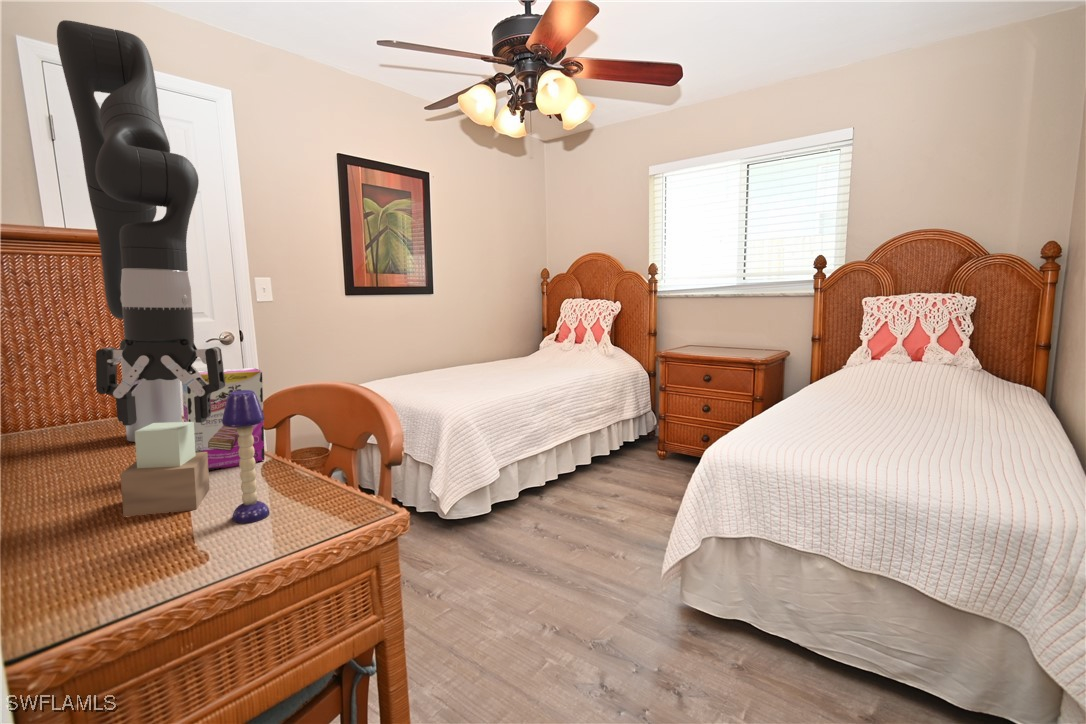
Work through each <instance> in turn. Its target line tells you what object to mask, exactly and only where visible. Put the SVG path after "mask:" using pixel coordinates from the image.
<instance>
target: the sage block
mask: <svg viewBox="0 0 1086 724" xmlns="http://www.w3.org/2000/svg"><path fill="white" fill-rule="evenodd" d="M134 443H135V455H136V456H135V457H136V458H135V459H136V461H137V468H157V467H178V466H182V465H183V464H184V463H186V462H187V461H189V460H190V459H192V458H193V457H195V456H196V455H195V435H194V422H184V421H182V422H169V423H152V424H150V425H148V426H146V427H143V428H141V429H139V430H137V431H135V442H134Z"/></svg>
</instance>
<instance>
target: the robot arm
mask: <svg viewBox="0 0 1086 724" xmlns="http://www.w3.org/2000/svg"><path fill="white" fill-rule="evenodd" d="M56 42H57V48H58V54H59V59H60V63H61V66H62V71H63V74H64V78H65V79H64V80H65V82H66V86H67V90H68V93H69V97H70V103H71V106H72V110H73V114H74V118H75V122H76V125H77V130H78V136H79V142H80V147H81V153H82V154H81V155H82V160H83V161H82V162H83V168H84V174H85V181H86V186H87V192H88V197H89V202H90V207H91V211H92V215H93V219H94V223H95V224H94V225H95V227H96V228H95V229H96V231H97V236H98V237H97V238H98V241H99V248H100V255H101V262H102V263H101V264H102V274H103V281H104V282H103V284H104V292H105V298H106V303H107V307H108V310H109V312H110V313H111V315H112V316H113V317H114V318H115V319H118V320H122V323H123V335H124V339H122V340H121V341H120V344H119V348H115V347H113V346H109V347H104V348H103V347H102V348H99V349H97V350H96V352H95V374H96V375H95V376H96V377H95V381H96V384H95V385H96V387H95V388H96V389H95V391H96V392H97V393H98V394H100V395H104V394H105V395H109V396H112V397H113V398H114V399H115V405H116V406H115V407H116V415H117V416H116V418H117V420H118V421H119V422H121V424H122V426H125V432H126V440H127V441H128V442H134V443H135V431H137V430H139V429H141V428H143V427H146V426H148V425H150V424H152V423H169V422H183V415H182V412H183V409H182V398H181V397H182V396H181V384H182V383H183V384H185V385H187V386H188V387H189V388H190V389H191V390H192V391H193V392H194V393H195V394H196V395H197V396H195V397H194V405H195V421H196V423H203V422H204V421H206V420H207V418H208V417H209V416H210V415H211V398H210V395H211V393H212V392H215V391H218V390H220V389H222V388H224V387H225V377H224V370H225V369H224V363H223V354H222V348H220V347H219V346H213V347H209V348H197V347H196V344H195V341H194V340H195V335H194V333H195V332H194V318H193V317H194V316H193V301H192V299H193V298H192V288H191V287H192V286H191V282H190V279H189V278H190V277H189V272H188V270H189V269H188V255H187V254H188V253H187V239H188V238H187V236H188V228H189V224H190V219H191V215H192V212H193V207H194V205H195V201H196V197H197V194H198V189H199V185H200V184H199V176H198V172H197V170H196V168H195V166H194V165H193V163H192V162H191V161H190V160H189V159H188V158H187V157H185V156H184V155H181V154H179V153H173V152H171V147H170V142H169V138H168V136H167V133H166V131H165V128H164V125H163V123H162V119H161V115H160V109H159V97H158V91H157V83H156V77H155V71H154V67H153V62H152V58H151V55H150V52H149V49H148V48H147V45H146V44H145V43H144V41H143V40H142V39H141V38H140V37H139V36H137V35H135V34H132V33H131V32H128V31H123V30H120V29H114V28H109V27H105V26H99V25H95V24H94V25H93V24H89V23H86V22H79V21H74V20H67V19H65V20H61V21H60V22H59V23H58V25H57V28H56ZM95 93H102V94H104V93H105V94H108V95H107V96H106V98H105V99H104V100H103V102H101V103H102V104H101V105H99V103H98V102H97V99H96V97H95ZM157 207H163V208H166V209H165V214H164V216H163V217H162V218H161V219H158V220H155V217H156V215H157V212H158V211H157ZM198 358H200V359H201V362H202V363H203V364H204V365H206V369H207V371H208V379H209V384H207V383H206V381H205V380H204V379H203V378H202V377H201V374H200V373H199V372H198V371H199V370H197V369H196V368H195V367H194V365H193V364H194V363H195V362H196V360H197V359H198ZM120 363H121V365H120V366H121V367H120V368H121V378H122V379H121V382H120V383H119V384H118V364H120ZM191 372H192V373H191Z"/></svg>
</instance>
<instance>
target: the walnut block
mask: <svg viewBox="0 0 1086 724" xmlns="http://www.w3.org/2000/svg"><path fill="white" fill-rule="evenodd" d="M195 455H196V456H195V457H193V458H192V459H190V460H189V461H187V462H186V463H184V464H183V465H182V466H178V467H157V468H137V460H136V461H135V462H133V463H132V464H131V465H130V466H129V467H126V469H125V470H123V471H122V472H121V473H120V475H119V476H120V486H121V487H120V488H121V500H122V503H121V504H122V514H123V515H122V516H123V518H124V517H126V516H135V515H143V514H144V515H145V514H153V515H157V514H156V513H162V514H167V513H168V514H170V513H169V512H171V513H177V512H186V511H194V510H195V511H196V510H198V508H199V507H200V505H201V504H202V503H203V501H204V499H205V497H206V496H207V495H208V494H209V491H210V474H209V473H210V472H209V471H208V453H207V452H196V453H195ZM145 516H146V515H145Z"/></svg>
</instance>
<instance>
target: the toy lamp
mask: <svg viewBox="0 0 1086 724" xmlns="http://www.w3.org/2000/svg"><path fill="white" fill-rule="evenodd" d="M264 420H265V415H264V411H263V412H262V409H261V406H260V404H259V401H258V398H257V396H256V394H255V392H254V391H252V390H239V391H234V392H230V393H229V394H228V397H227V401H226V405H225V410H224V414H223V419H222V424H223V425H224V426H226V427H237V433H238V435H239V437H238V445H239V446H240V448H239V457H240V458H241V459H240V463H239V465H238V466H239V469H240V474H239V478H240V480H241V484H240V487H241V488H240V489H241V492H242V494H241V501H242V503H241V504H239V505H237V507H236V508H235V509H234V511H233V513H232V518H231V519H232V521H233V522H234V523H238V524H247V523H248V524H249V523H254V522H258V521H261V520H263V519H265V518H267V517H268V516H269V515H270V510H269V509H270V508H269V507H268V505H267V504H266V503H265V502H263V501H260V500H258V497H259V496H258V492H257V487H258V484H257V483H258V482H257V481H256V477H257V472H256V469H255V467H256V462H255V459H254V457H253V456H254V453H255V451H254V447H253V446H252V445H253V443H254V438H253V435H252V432H253V426H252V425H256V424H260V423H261V422H263V421H264ZM264 422H265V421H264Z"/></svg>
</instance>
